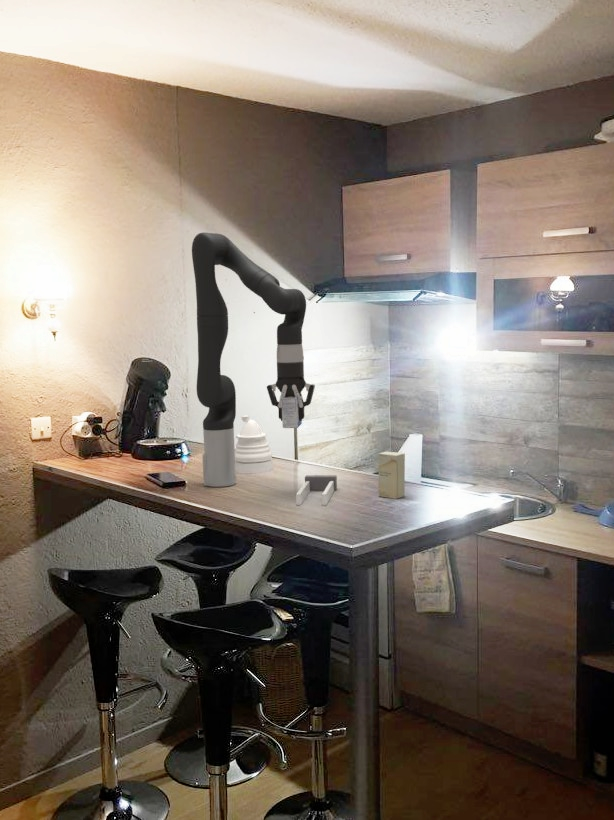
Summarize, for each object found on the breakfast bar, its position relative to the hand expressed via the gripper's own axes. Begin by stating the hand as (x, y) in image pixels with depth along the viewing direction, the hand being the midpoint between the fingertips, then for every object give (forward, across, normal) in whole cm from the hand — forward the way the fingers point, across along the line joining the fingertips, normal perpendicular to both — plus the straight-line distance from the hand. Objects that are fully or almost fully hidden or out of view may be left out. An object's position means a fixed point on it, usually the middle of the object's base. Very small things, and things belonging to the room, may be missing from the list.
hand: (291, 420), depth 239 cm
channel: (+21, +7, -5) cm, 23 cm away
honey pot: (+22, -20, +35) cm, 46 cm away
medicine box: (+2, 0, +1) cm, 2 cm away
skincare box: (+21, +28, -4) cm, 36 cm away
